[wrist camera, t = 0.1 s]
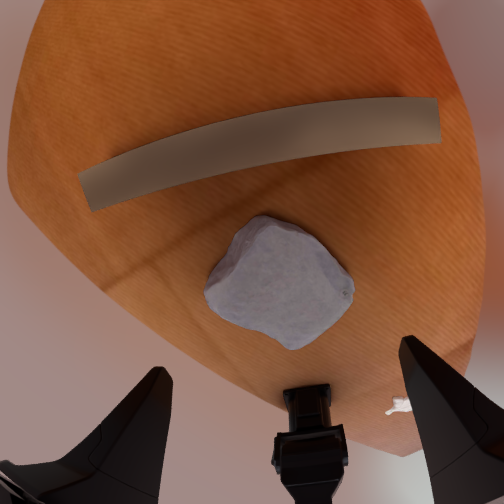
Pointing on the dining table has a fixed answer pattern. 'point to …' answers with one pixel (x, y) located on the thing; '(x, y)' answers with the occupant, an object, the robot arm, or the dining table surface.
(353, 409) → the dining table surface
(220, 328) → the dining table surface
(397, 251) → the dining table surface
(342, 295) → the stone block
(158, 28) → the dining table surface
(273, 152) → the board
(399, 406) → the acanthus leaf ornament
